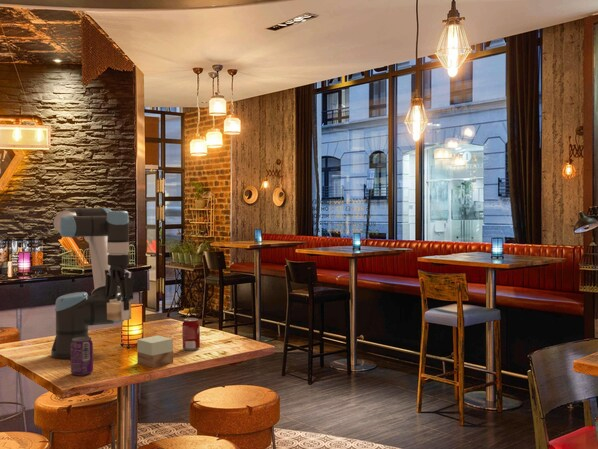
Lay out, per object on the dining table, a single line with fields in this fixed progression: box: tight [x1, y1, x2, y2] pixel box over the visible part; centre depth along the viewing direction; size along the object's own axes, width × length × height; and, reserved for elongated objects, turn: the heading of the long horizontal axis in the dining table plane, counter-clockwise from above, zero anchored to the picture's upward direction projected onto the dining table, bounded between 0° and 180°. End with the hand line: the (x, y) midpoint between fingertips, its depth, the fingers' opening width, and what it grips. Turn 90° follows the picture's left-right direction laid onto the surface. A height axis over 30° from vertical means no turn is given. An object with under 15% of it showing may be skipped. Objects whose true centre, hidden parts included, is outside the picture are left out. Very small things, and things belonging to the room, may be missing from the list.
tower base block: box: [136, 350, 174, 369], centre depth 226 cm, size 9×9×4 cm
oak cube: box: [107, 301, 132, 321], centre depth 223 cm, size 6×6×6 cm
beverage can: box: [70, 336, 94, 376], centre depth 212 cm, size 7×7×12 cm
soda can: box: [181, 317, 201, 352], centre depth 247 cm, size 7×7×12 cm
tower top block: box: [136, 335, 174, 356], centre depth 226 cm, size 9×9×4 cm
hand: (119, 318), depth 224 cm, fingers closed on oak cube, 6 cm apart
